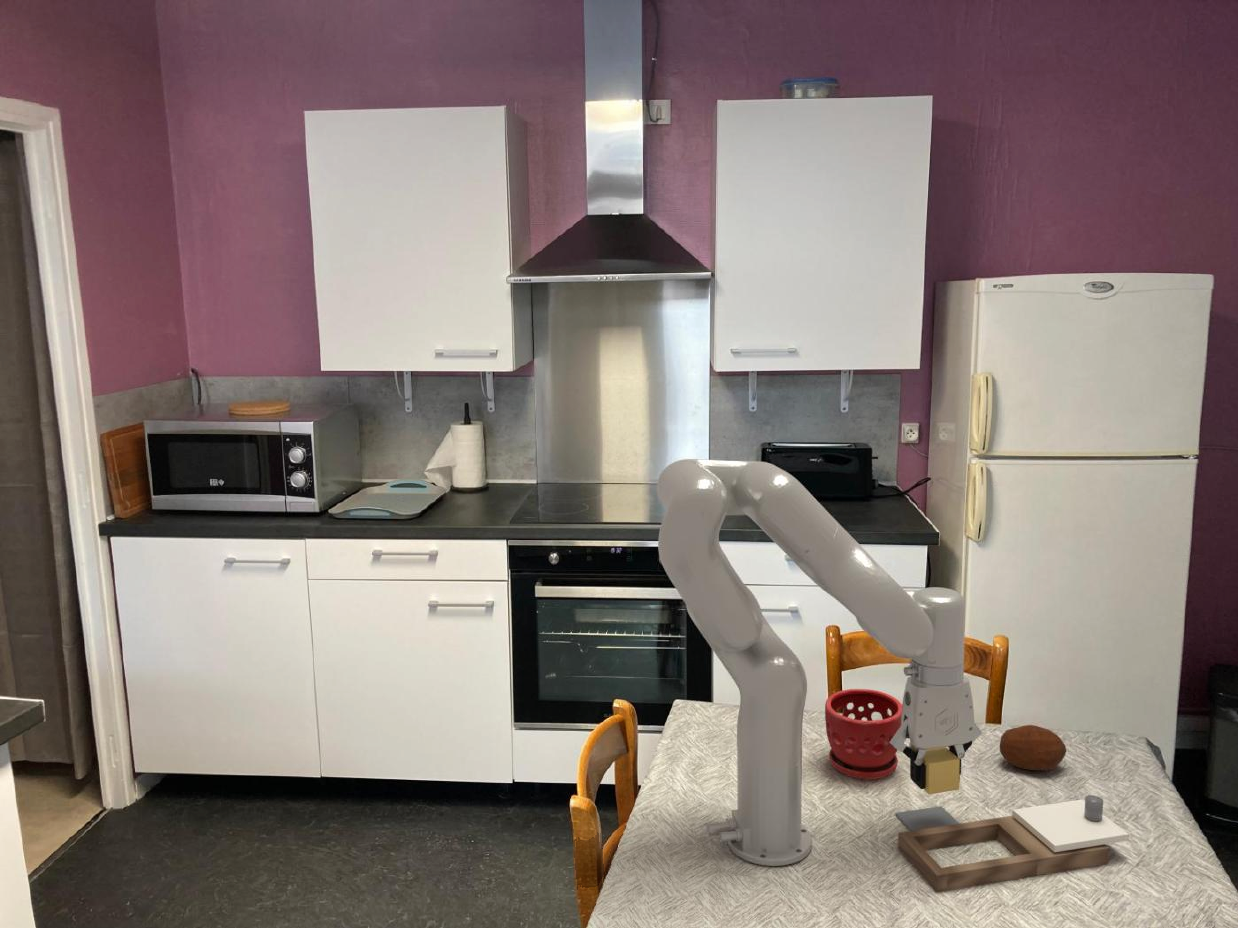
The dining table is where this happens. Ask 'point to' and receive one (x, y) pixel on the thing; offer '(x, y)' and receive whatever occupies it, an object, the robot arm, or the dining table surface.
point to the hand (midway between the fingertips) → (935, 780)
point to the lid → (1071, 824)
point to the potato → (1032, 748)
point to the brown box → (1013, 835)
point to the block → (941, 770)
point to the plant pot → (862, 733)
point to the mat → (926, 818)
